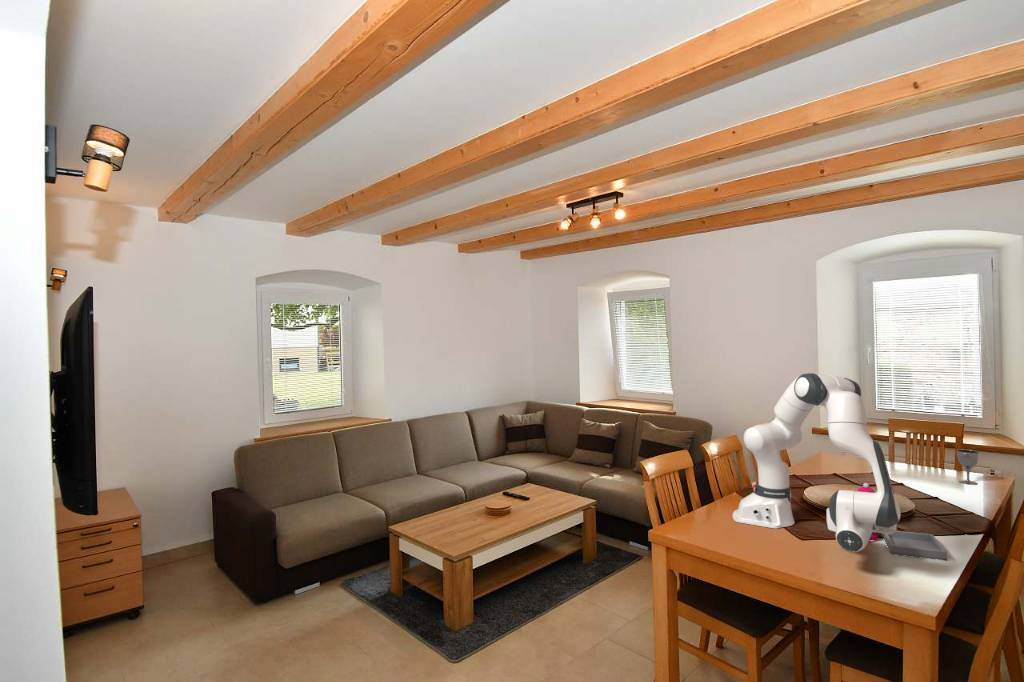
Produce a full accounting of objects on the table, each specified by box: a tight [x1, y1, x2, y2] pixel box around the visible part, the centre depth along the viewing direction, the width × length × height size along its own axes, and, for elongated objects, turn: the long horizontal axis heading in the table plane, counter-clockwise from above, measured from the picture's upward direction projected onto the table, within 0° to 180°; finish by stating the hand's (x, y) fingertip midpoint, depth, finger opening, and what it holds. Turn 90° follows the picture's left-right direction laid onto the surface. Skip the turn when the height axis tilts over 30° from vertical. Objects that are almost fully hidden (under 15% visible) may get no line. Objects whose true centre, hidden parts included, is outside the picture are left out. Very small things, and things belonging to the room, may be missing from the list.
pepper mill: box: [856, 482, 878, 541], centre depth 196 cm, size 7×7×20 cm
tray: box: [881, 530, 948, 562], centre depth 187 cm, size 15×16×3 cm
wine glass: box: [956, 448, 980, 486], centre depth 256 cm, size 8×8×15 cm
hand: (863, 513), depth 191 cm, fingers open, 8 cm apart
